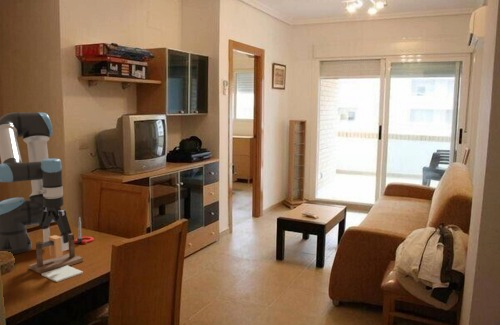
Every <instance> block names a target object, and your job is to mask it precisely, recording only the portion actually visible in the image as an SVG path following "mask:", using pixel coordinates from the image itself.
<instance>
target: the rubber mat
mask: <svg viewBox="0 0 500 325" xmlns="http://www.w3.org/2000/svg"><path fill="white" fill-rule="evenodd" d="M82 274H84V271H83V270H81V269H77V268H76V267H73V266H71V265H70V266H68V265H67V266H64V267H61V268H58V269H55V270H51V271H48V272H45V273H42V274H41V276H42V277H45V278H47V279H49V280H51V281H53V282H56V283H59V282H61V281H65V280H68V279H70V278H73V277H76V276H78V275H82Z"/></svg>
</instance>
